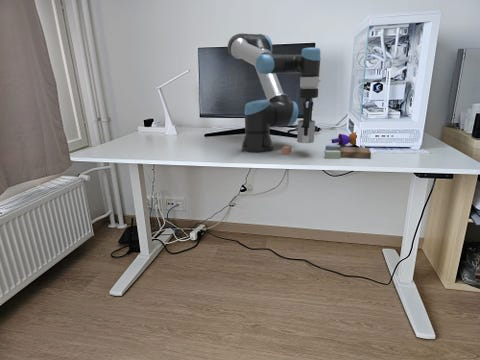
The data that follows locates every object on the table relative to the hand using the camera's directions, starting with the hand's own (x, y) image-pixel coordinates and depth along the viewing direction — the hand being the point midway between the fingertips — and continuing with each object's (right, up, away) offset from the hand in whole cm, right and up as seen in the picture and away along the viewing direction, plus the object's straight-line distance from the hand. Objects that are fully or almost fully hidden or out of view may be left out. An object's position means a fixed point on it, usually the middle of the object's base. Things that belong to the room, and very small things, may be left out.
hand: (306, 140), depth 138 cm
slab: (+20, -7, -3) cm, 21 cm away
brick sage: (+10, -8, -6) cm, 14 cm away
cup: (0, 0, 0) cm, 0 cm away
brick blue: (+13, -5, +5) cm, 15 cm away
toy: (+16, +1, +17) cm, 23 cm away
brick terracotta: (-8, -5, +5) cm, 11 cm away
